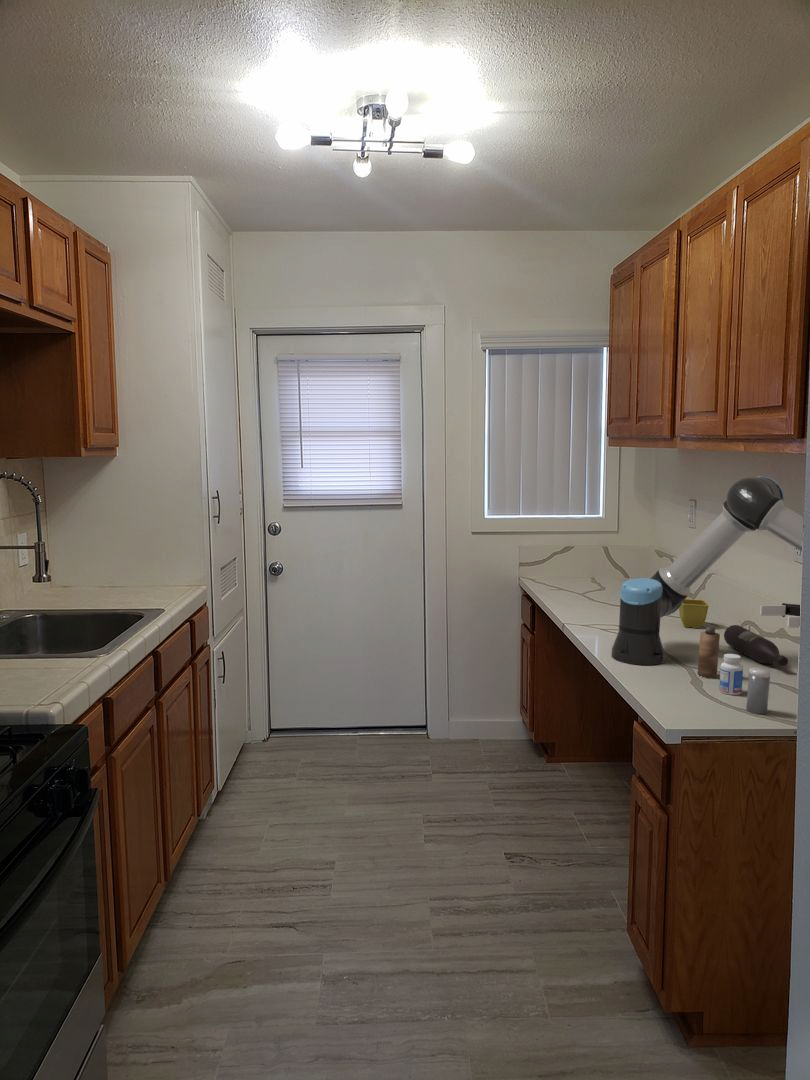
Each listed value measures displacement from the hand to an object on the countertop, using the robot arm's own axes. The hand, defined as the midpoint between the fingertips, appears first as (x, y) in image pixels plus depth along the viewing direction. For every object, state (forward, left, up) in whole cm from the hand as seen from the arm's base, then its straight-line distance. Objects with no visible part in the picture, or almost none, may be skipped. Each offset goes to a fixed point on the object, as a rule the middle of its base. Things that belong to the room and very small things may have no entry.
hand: (773, 615), depth 195 cm
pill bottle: (-10, -2, -21) cm, 23 cm away
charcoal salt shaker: (-7, -15, -20) cm, 27 cm away
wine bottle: (+4, +48, -17) cm, 51 cm away
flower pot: (-3, +72, -21) cm, 75 cm away
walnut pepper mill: (-12, +12, -20) cm, 27 cm away
